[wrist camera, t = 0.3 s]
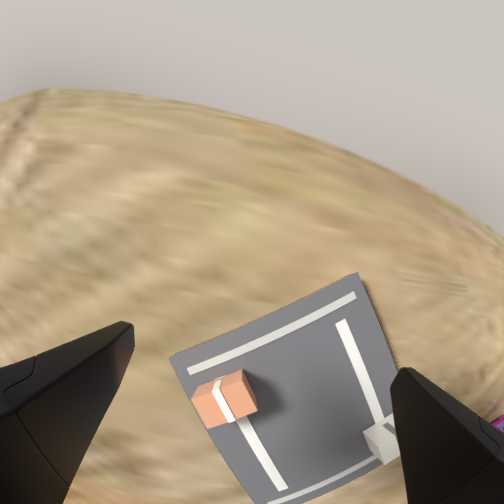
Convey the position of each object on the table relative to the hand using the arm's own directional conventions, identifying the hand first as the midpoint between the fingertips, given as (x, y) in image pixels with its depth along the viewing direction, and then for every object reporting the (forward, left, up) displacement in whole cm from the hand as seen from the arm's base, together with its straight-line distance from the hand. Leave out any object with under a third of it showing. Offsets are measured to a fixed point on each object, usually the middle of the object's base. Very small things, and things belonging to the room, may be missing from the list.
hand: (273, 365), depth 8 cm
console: (-9, -1, -14) cm, 17 cm away
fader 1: (-4, +4, -12) cm, 13 cm away
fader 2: (-14, -6, -12) cm, 19 cm away
